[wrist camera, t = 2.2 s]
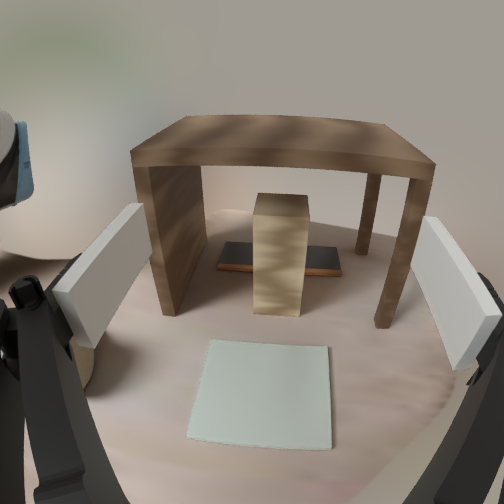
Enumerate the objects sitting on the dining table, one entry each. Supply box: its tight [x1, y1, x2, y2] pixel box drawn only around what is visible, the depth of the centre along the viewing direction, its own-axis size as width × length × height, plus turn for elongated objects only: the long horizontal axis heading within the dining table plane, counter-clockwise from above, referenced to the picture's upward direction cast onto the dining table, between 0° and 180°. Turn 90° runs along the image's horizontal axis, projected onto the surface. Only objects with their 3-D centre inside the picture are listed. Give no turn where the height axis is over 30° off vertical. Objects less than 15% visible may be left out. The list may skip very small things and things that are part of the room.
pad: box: [186, 339, 332, 450], centre depth 26 cm, size 12×11×1 cm
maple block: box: [253, 193, 310, 317], centre depth 33 cm, size 5×5×12 cm
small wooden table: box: [130, 115, 436, 328], centre depth 35 cm, size 25×16×18 cm, turn 84°
